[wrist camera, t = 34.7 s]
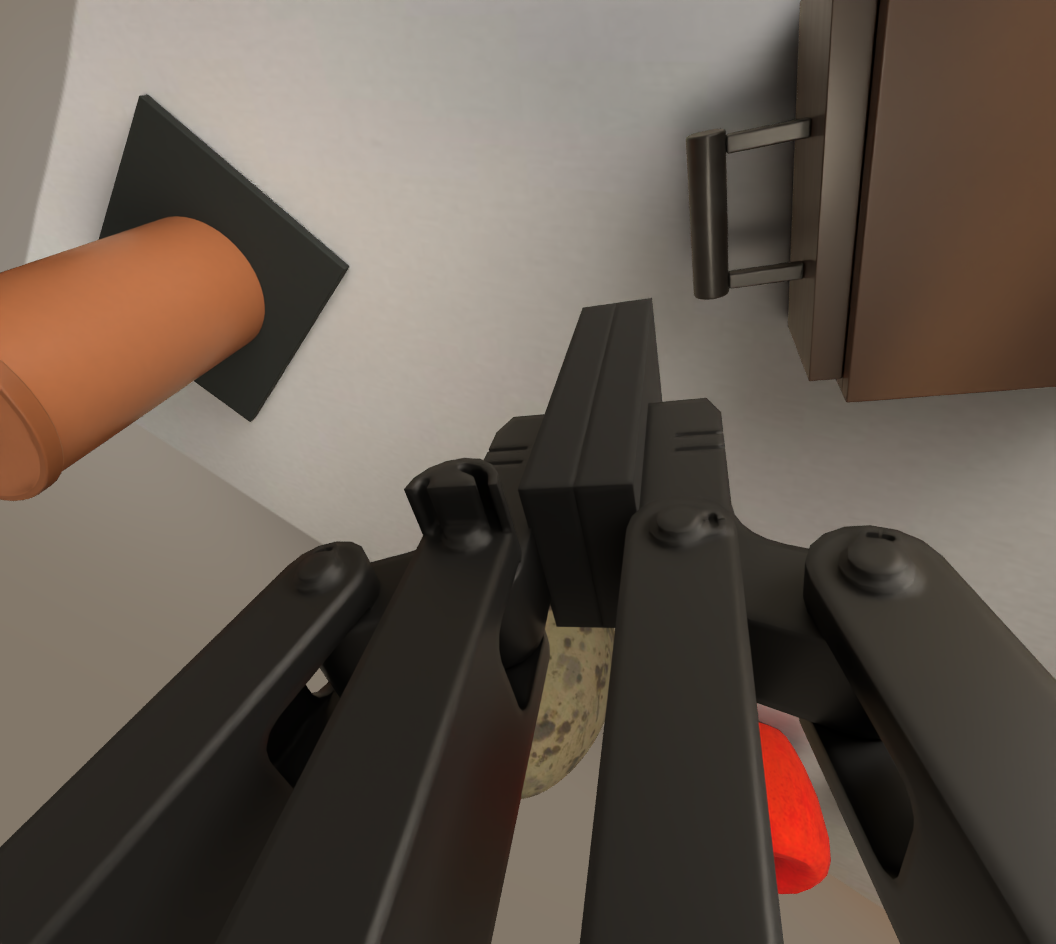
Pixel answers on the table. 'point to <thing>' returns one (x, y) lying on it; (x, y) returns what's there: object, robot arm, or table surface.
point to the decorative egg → (569, 702)
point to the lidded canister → (112, 339)
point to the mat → (248, 222)
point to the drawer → (801, 183)
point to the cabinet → (957, 204)
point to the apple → (793, 816)
